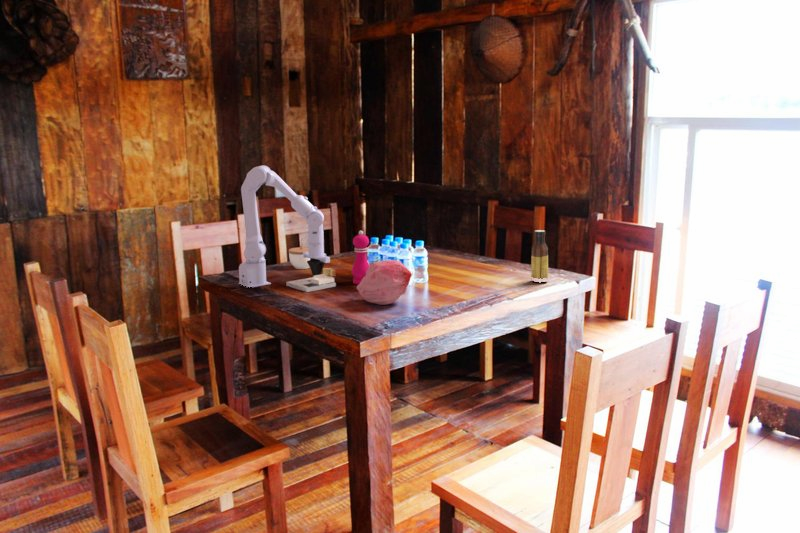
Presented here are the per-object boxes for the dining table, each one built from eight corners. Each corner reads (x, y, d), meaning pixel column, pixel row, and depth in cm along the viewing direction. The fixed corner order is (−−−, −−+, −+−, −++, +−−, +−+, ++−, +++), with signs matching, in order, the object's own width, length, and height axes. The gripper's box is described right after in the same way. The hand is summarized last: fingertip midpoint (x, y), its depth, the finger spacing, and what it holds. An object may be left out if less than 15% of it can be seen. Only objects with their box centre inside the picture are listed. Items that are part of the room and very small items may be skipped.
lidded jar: (292, 271, 280) (291, 248, 278) (286, 266, 289) (285, 244, 287) (317, 269, 283) (317, 246, 282) (311, 264, 293) (310, 242, 291)
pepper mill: (368, 285, 255) (367, 232, 251) (349, 284, 257) (348, 231, 253) (372, 281, 262) (372, 229, 258) (354, 280, 264) (354, 228, 260)
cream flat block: (318, 284, 249) (318, 278, 249) (310, 282, 253) (310, 276, 252) (334, 281, 254) (334, 275, 253) (326, 279, 257) (326, 273, 257)
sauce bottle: (546, 280, 265) (549, 229, 261) (548, 284, 259) (551, 232, 254) (529, 279, 265) (531, 229, 261) (531, 283, 259) (533, 231, 255)
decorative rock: (419, 282, 236) (395, 246, 235) (420, 288, 222) (394, 249, 221) (374, 312, 238) (349, 276, 236) (372, 319, 223) (346, 281, 222)
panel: (306, 292, 245) (306, 288, 244) (286, 285, 254) (286, 281, 254) (335, 286, 253) (335, 282, 253) (315, 280, 263) (315, 276, 262)
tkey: (320, 280, 264) (320, 268, 263) (328, 278, 266) (328, 266, 265) (330, 282, 259) (329, 270, 258) (338, 281, 262) (337, 269, 261)
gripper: (336, 244, 250) (337, 280, 253) (313, 239, 261) (314, 274, 264) (320, 246, 246) (321, 283, 248) (297, 241, 256) (298, 276, 259)
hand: (316, 279), depth 256 cm, fingers closed
